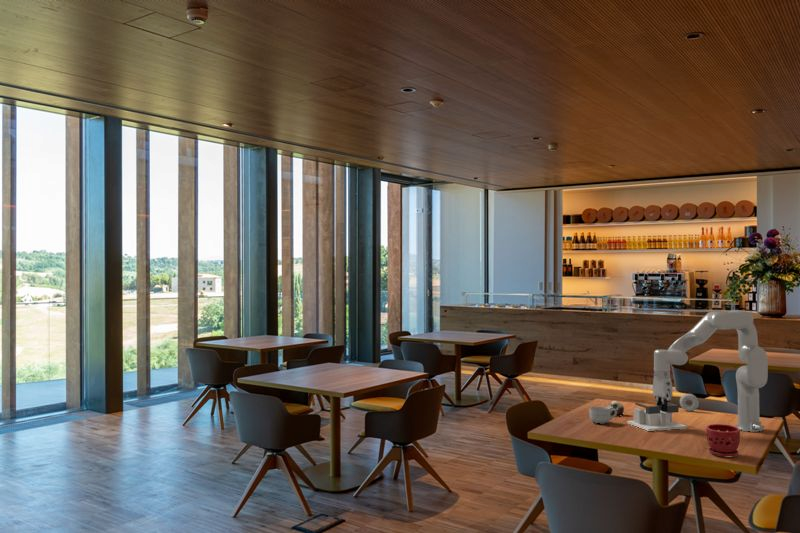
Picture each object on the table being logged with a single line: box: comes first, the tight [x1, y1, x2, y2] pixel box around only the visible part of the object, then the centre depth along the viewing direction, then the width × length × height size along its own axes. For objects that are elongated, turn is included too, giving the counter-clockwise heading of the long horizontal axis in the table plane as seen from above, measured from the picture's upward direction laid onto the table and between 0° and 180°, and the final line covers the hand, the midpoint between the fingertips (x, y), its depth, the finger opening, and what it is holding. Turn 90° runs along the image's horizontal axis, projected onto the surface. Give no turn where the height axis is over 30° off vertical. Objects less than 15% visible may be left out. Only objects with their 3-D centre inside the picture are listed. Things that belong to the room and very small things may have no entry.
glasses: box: [634, 401, 680, 414], centre depth 334 cm, size 12×17×4 cm
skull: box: [606, 400, 625, 418], centre depth 362 cm, size 12×10×10 cm
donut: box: [679, 393, 700, 412], centre depth 369 cm, size 10×4×10 cm, turn 60°
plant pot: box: [705, 423, 741, 457], centre depth 282 cm, size 13×13×12 cm
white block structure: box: [626, 407, 688, 432], centre depth 334 cm, size 18×22×8 cm
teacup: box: [588, 406, 617, 425], centre depth 343 cm, size 14×11×8 cm
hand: (662, 410), depth 330 cm, fingers closed on glasses, 2 cm apart
